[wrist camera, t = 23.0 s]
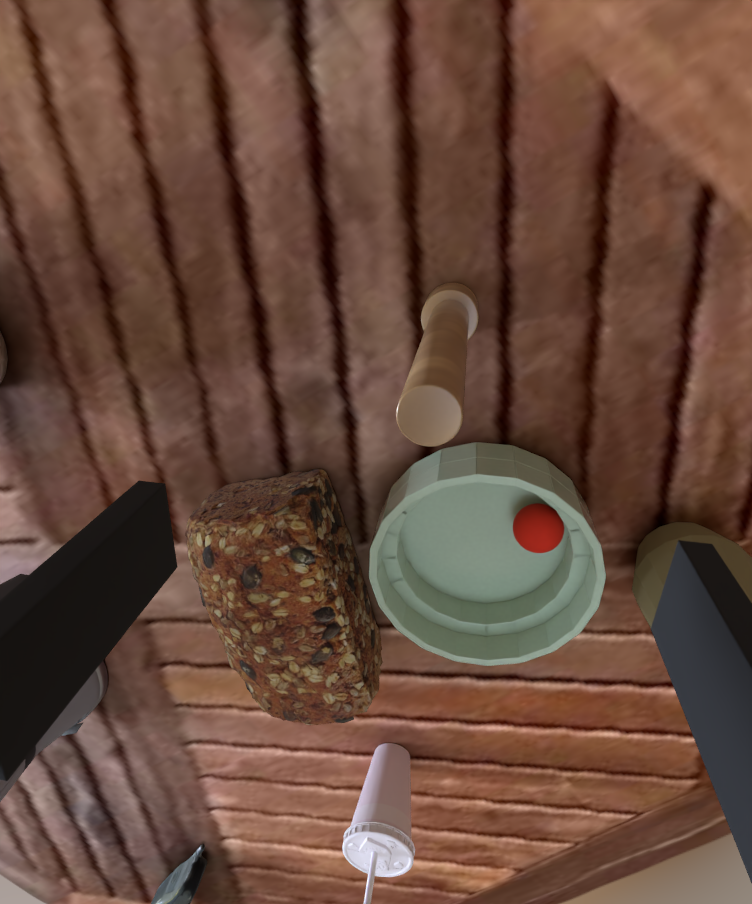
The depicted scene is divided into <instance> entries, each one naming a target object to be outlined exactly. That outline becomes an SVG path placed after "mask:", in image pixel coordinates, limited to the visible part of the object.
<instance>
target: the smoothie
mask: <svg viewBox="0 0 752 904" xmlns="http://www.w3.org/2000/svg"><path fill="white" fill-rule="evenodd" d="M342 850H343V854H344V856H345V858H346V859H347V860H348V862H350V863H351V864H352V865H353V866H354V867H356V868H357V869H359V870H361V871H363V872H365V873H368V879H367V886H366V892H365V898H364V904H371V898H372V891H373V884H374V877H375V876H380V877H394V876H399V875H402V874H404V873H406V872H407V871H408V870H409V869H410V868H411V867H412V865H413V858H414V855H415V847H414V844H413V842H412V840H411V778H410V755H409V753H408V751H407V750H406V749H405V748H403V747H402V746H400V745H397V744H393V743H384V744H381V745H379V746H378V747H377V748H376V749H375V752H374V755H373V758H372V761H371V764H370V767H369V770H368V774H367V777H366V780H365V783H364V786H363V789H362V792H361V795H360V798H359V801H358V804H357V808H356V811H355V813H354V816H353V820H352V823H351V826H350V827H349V828H348V829H347V830H346V832H345V834H344V841H343V846H342Z"/></svg>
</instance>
